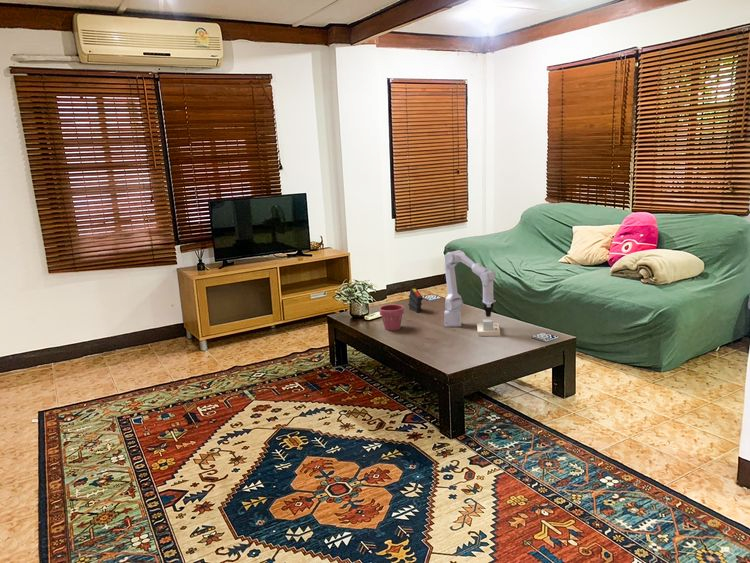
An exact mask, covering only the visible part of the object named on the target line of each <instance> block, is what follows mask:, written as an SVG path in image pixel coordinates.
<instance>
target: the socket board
mask: <svg viewBox="0 0 750 563" xmlns="http://www.w3.org/2000/svg"><path fill="white" fill-rule="evenodd" d="M500 330H501V329H500V325H499V323H498V322H493V330H491V331H483V322H482V323H481V322H480V323H478V322H477V323H476V331H477V336H478V337H500V336H501V331H500Z"/></svg>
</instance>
